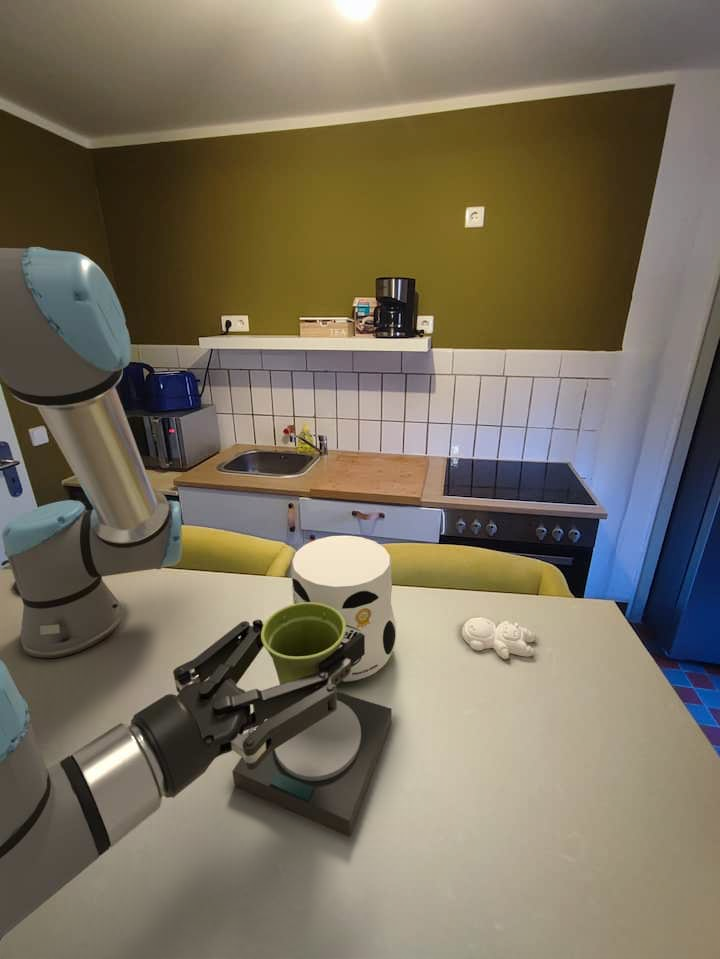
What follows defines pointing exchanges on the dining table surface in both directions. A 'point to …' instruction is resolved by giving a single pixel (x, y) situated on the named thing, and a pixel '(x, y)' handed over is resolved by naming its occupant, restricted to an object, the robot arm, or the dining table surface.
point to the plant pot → (302, 638)
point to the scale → (324, 765)
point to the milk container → (350, 593)
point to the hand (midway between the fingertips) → (334, 626)
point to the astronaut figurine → (498, 637)
